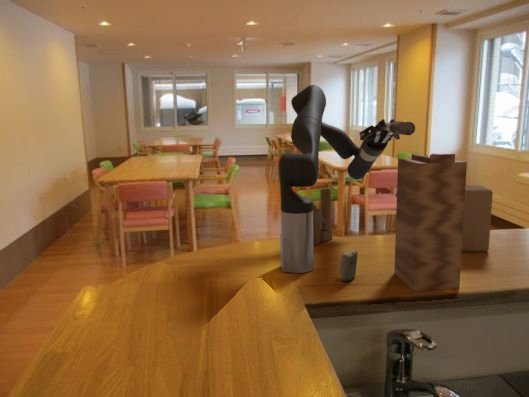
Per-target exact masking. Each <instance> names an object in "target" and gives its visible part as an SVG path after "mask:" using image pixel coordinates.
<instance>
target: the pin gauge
mask: <svg viewBox="0 0 529 397" xmlns="http://www.w3.org/2000/svg"><path fill="white" fill-rule="evenodd" d="M383 130H386V131H391V132H392V133H391V134H393V133H394V134H399V135H403V136H412V135H413V134H414V133H415V132H416V125H415V124H414V123H413V121H412V122H411V121H400V120H397V121H396V120H394V122H392V123H389V122H385V126H384V128H383Z"/></svg>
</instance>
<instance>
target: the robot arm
mask: <svg viewBox="0 0 529 397" xmlns="http://www.w3.org/2000/svg"><path fill="white" fill-rule="evenodd" d="M290 102H291V107H292V109H293V110H294V112H295V114H296V117H295V119H294V121H293V123H292V128H291V131H290V138H291V143H292V144H293V145H294V147H295V148H296V149H297V150H298V151H299V152H300V153H284V154H282V155H281V156H280V159H279V161H278V162H279V163H278V174H279V175H278V176H279V177H278V178H279V189H280V232H281V233H280V236H279V238H280V240H279V245H280V267H281V270H282V272H283V273H290V274H291V273H292V274H303V273H308V272H311V271H312V270H314V263H315V262H314V245H313V205H314V202H313V200H312V199H310V198H308V197H305V196H302V195H300V194H299V193H297V192H295V190H294V189H293V188H308V187H313V186H315V185H316V183H317V181H318V178H319V169H320V168H319V166H320V165H319V164H320V163H319V162H320V161H319V160H320V159H319V149H320V148H319V147H320V143H321V138H323V139H324V140H325V141H326V142H327V143H328V144H329V145H330V147H331V148H332V149H333V150H334V151H335V153H336V154H337V155H338V156H339V157H340V158H341V159H343V160H348V159H350V158H351V157H354V158H353V159H352V160H351V162H350V163H348V166H347V168H346V169H347V171H346V172H347V174H348V175H349V176H350V178H351V179H353V180H362V179H363V178H365V176H366V175H367V173H368V172H369V171H370V169H371V168H372V167H373V166H374V164H375V162H376V161H377V159H378V158H380V156H381V154H382V153H383V152H384V151H385V149H386V148H387V146H388V144H389V142H390V141H392V139H396V140H400V139H401V136H400V134H394V133H392V132H391V131H386V130H383V128H384V126H385V123H386V120H385V119H384V118H383V119H381V120H379V121H378V123H377V124H376V125H375V126H374V125H370V126H368V127H367V128H365V129H363V130H362V131H359V139H360V141H362V142H361V144H360V146H358V145H357V144H355V142H354V141H353V140H352V139H351V138H350V136H349V134H347V133H346V131H344V130H343V129H340V128H339V127H336V126H335V125H330V124H328V123H325V122H323V117H324V112H325V109H326V106H327V98H326V94H325V92H324V90H323V89H322V87H320V86H319V85H317V84H310V85H308V86H306V87H305V88H303V89H302V90H301V91H300V92H298V93H297V94H296V95H294V96H293V97H292V98H291V101H290ZM394 121H395V119H394V118H391V119H390V121H389V122H388V123H392V122H394ZM349 176H348V177H349Z"/></svg>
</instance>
